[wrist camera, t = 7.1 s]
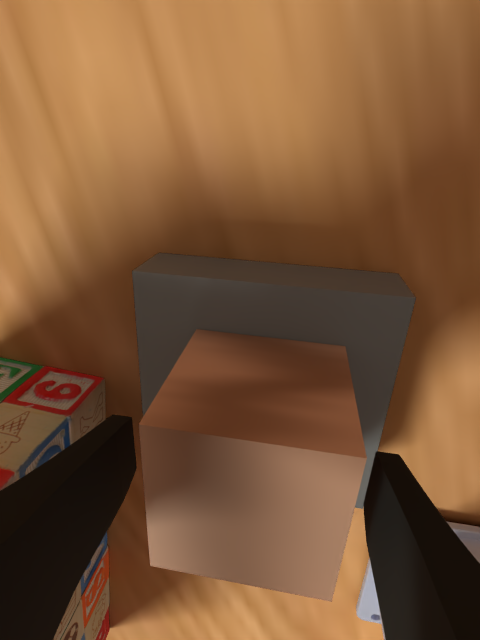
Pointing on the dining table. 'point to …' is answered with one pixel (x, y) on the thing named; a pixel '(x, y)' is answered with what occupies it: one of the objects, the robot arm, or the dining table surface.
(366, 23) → the dining table surface
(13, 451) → the stack of blocks
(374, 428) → the charcoal slab
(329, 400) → the terracotta cube
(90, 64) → the dining table surface
